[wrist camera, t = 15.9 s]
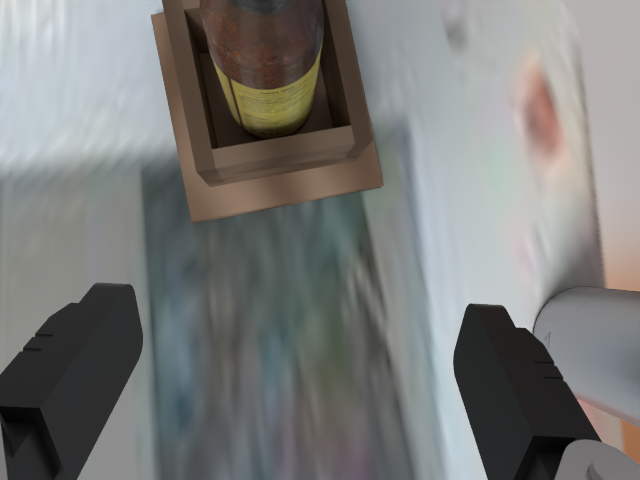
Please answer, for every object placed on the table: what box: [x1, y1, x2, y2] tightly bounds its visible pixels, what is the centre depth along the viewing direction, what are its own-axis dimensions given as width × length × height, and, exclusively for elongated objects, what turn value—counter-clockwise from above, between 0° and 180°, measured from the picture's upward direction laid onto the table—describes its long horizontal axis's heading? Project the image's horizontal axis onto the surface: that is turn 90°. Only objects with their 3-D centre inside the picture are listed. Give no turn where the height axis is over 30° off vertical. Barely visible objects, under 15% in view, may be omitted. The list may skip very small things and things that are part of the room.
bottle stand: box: [151, 0, 383, 223], centre depth 32 cm, size 15×16×7 cm
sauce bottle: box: [199, 0, 324, 140], centre depth 24 cm, size 6×6×20 cm
